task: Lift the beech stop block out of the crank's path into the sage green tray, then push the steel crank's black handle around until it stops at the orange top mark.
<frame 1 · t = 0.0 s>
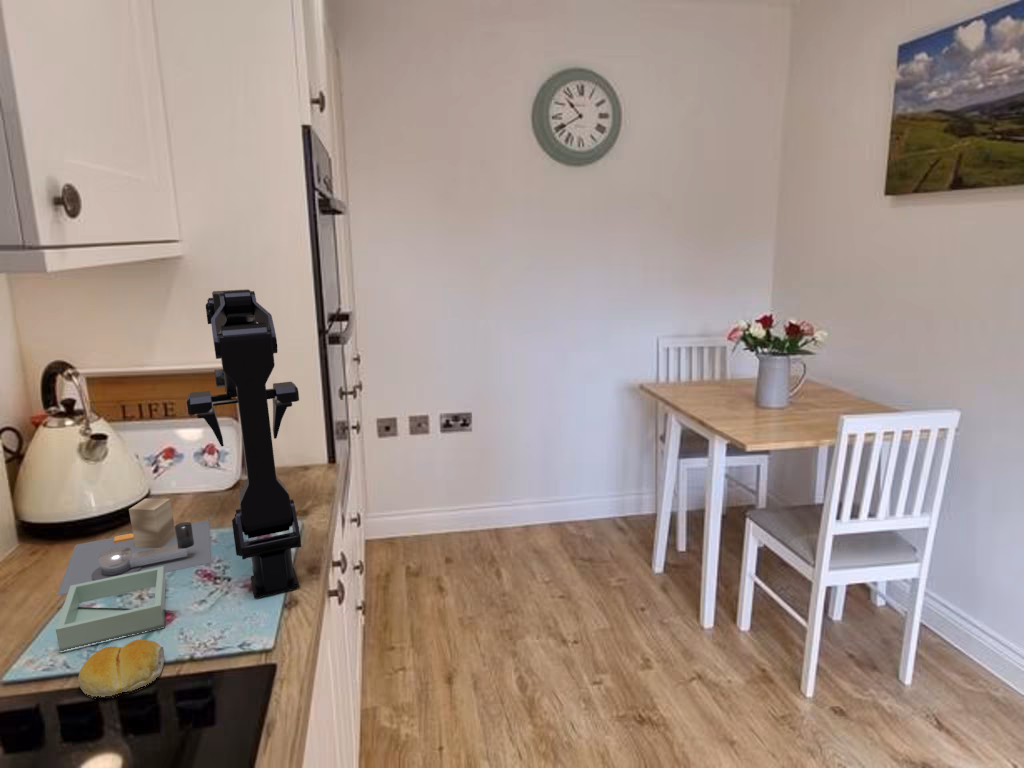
hand: (249, 441, 122), 15 cm above the countertop, tool pointing down, fingers open, 9 cm apart
bread roll: (126, 678, 80), on the countertop
tray: (118, 617, 93), on the countertop
stop block: (155, 541, 113), point 1 cm above the countertop, touching crank base
crank base: (142, 558, 109), on the countertop
crank: (147, 546, 105), point 4 cm above the countertop, hinge at 0.0°
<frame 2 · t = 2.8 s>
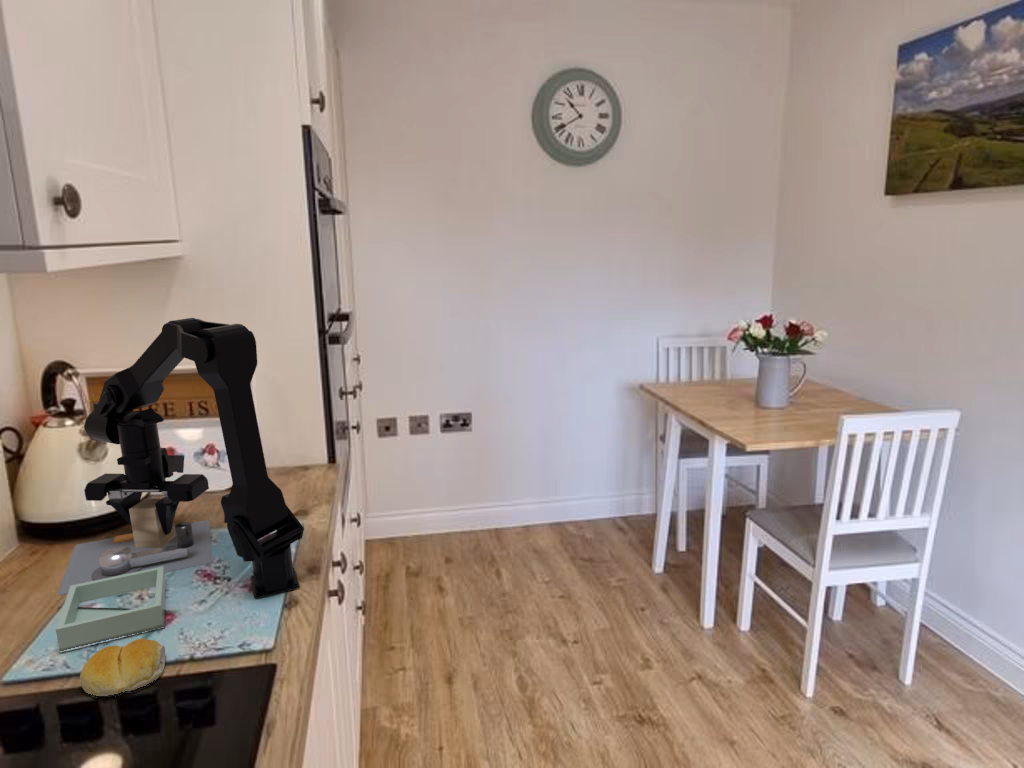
hand: (154, 533, 113), 3 cm above the countertop, tool pointing down, fingers closed on stop block, 4 cm apart
stop block: (155, 541, 113), point 1 cm above the countertop, touching crank base, gripper
everything else where it was.
when the fingers open (4 cm above the countertop, at t = 7.4 s): stop block drops 1 cm, resting on tray.
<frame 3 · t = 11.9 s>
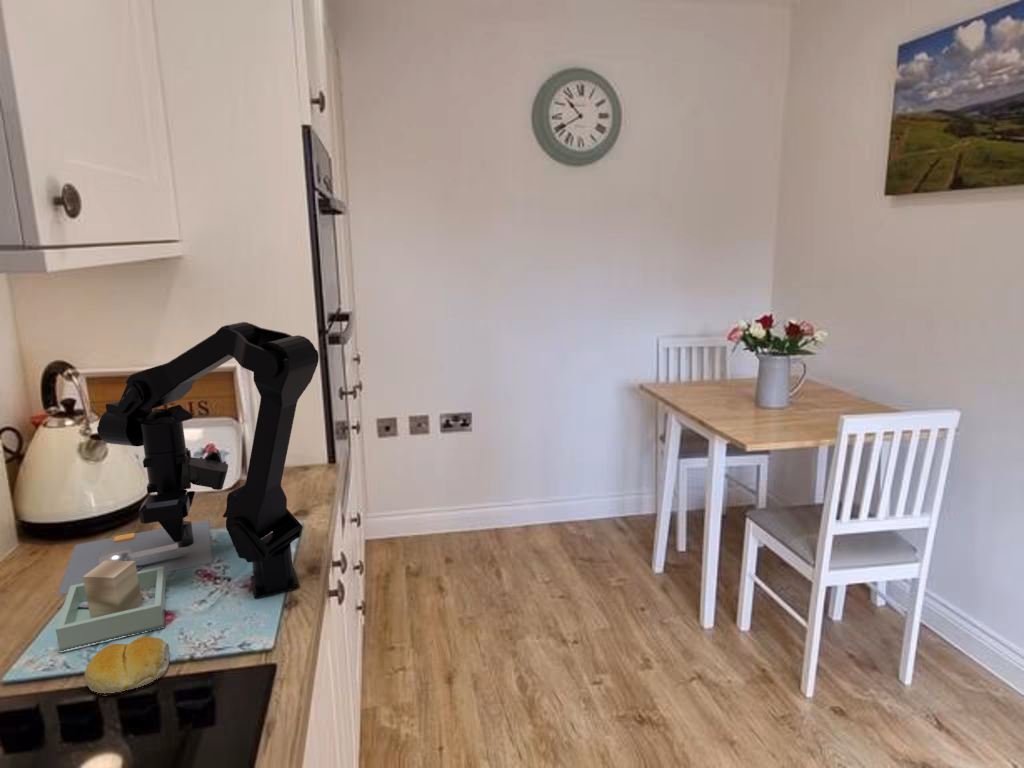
hand: (178, 541, 105), 5 cm above the countertop, tool pointing down, fingers closed
stop block: (117, 613, 93), point 1 cm above the countertop, touching tray
crank: (147, 546, 105), point 4 cm above the countertop, hinge at 2.8°, touching gripper
everything else where it was.
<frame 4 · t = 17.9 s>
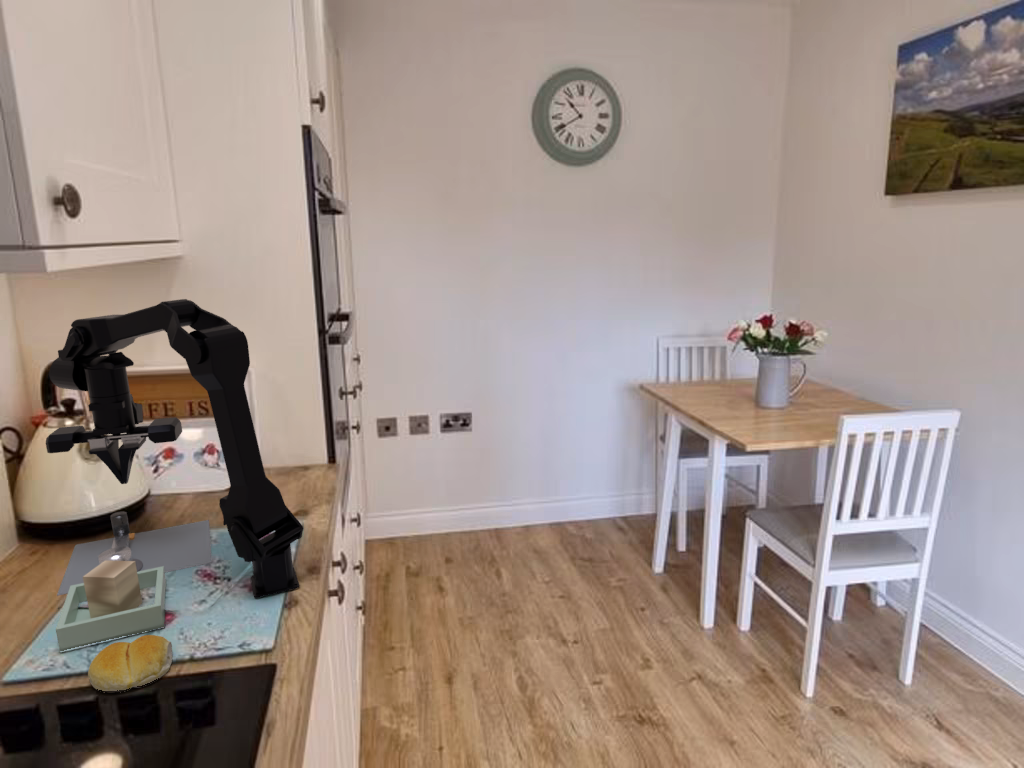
hand: (124, 483, 110), 12 cm above the countertop, tool pointing down, fingers closed
crank: (117, 541, 107), point 4 cm above the countertop, hinge at 89.7°
at the end: stop block inside the target area on the tray (0.0 cm from its centre), point 0.6 cm above the tray's base; crank at +90° (first picture: +0°) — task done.
